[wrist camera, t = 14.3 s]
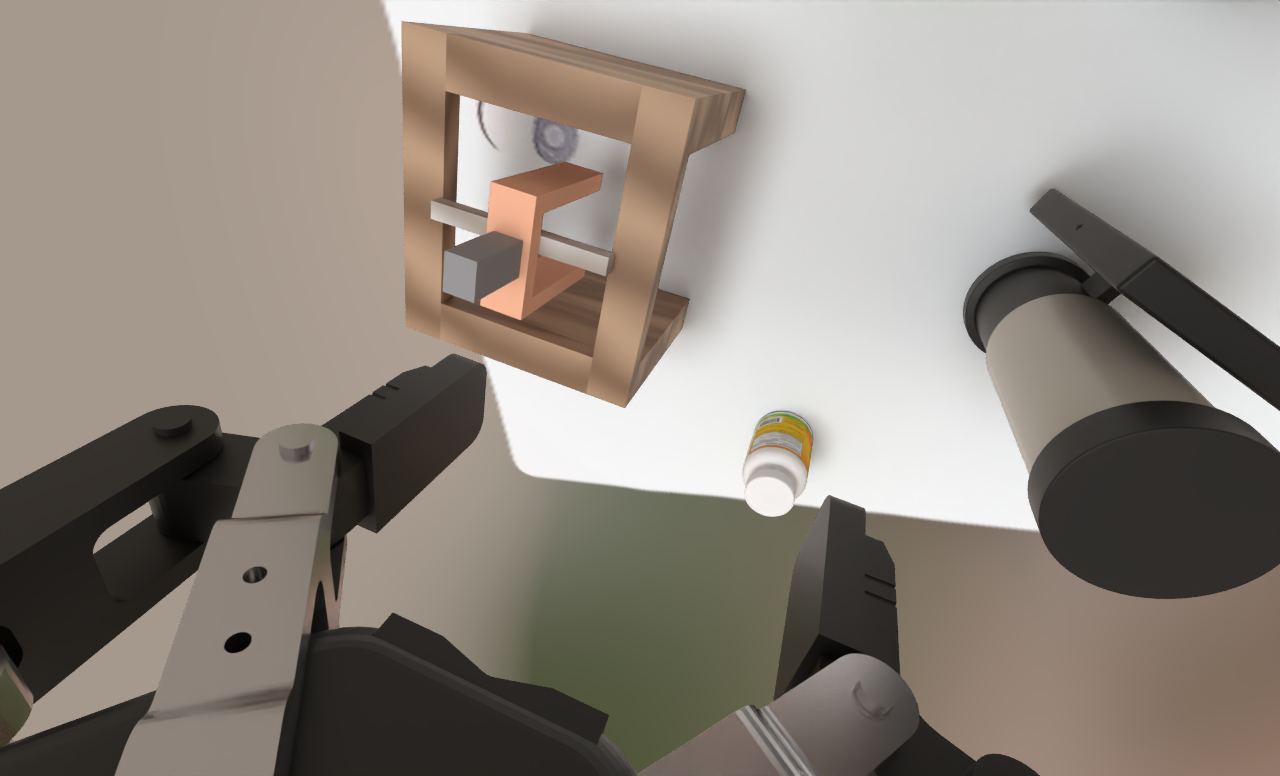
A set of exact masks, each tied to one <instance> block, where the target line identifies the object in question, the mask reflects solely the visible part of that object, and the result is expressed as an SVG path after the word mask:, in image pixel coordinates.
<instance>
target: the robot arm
mask: <svg viewBox="0 0 1280 776" xmlns="http://www.w3.org/2000/svg"><path fill="white" fill-rule="evenodd" d="M486 374H487V372H486V367H485V365H483V364H481V363H478V362H475V361H473V360H470V359H467V358H465V357H462V356H460V355H457V354H451V355H449V356H447V357H446V358H444V359H443V360H441V361H440V362H439V363H437V364H436V365H434V366H433V367H431V368H430V367H428V366H423V367H419V368H417V369H413V370H409V371H406V372H403V373H402V374H400V375H398V376H397V377H395V378H394V379H392V380H391V381H389V382H388V383H387V384H386V386H382V387H380V388H379V389H377V390H375V391H374V392H373V394H372V395H368V396H366V397H365V398H363V399H362V400H360V401H359V402H357V403H356V404H354V405H353V406H351V407H350V408H348V409H346V410H345V411H344V412H342V413H340V414H339V415H337V416H336V417H334V418H333V419H331V420H330V421H329V422H327V423H325V424H324V425H322V426H319V425H314V424H292V425H287V426H283V427H280V428H277V429H275V430H272V431H270V432H268V433H267V434H265V435H264V436H262V437H261V438H256V437H249V436H242V435H235V434H228V433H222V431H221V427H220V423H219V419H218V416H217V415H216V414H215V413H214V412H213V411H211V410H209V409H207V408H204V407H200V406H193V405H178V406H170V407H164V408H160V409H157V410H154V411H151V412H148V413H146V414H144V415H142V416H140V417H138V418H136V419H134V420H132V421H130V422H128V423H126V424H125V425H123V426H121V427H119V428H117V429H115V430H113V431H111V432H109V433H107V434H105V435H104V436H102V437H100V438H98V439H96V440H94V441H92V442H90V443H88V444H86V445H85V446H82V447H81V448H79V449H77V450H75V451H73V452H71V453H69V454H67V455H65V456H63V457H61V458H60V459H58V460H56V461H54V462H52V463H50V464H48V465H46V466H44V467H42V468H40V469H38V470H37V471H35V472H33V473H31V474H29V475H27V476H25V477H23V478H21V479H20V480H18V481H16V482H14V483H12V484H10V485H8V486H6V487H4V488H2V489H0V776H1040V775H1038V774H1037V773H1036V772H1035V771H1034V770H1032V769H1031V768H1029V767H1028V766H1027V765H1025V764H1023V763H1022V762H1020V761H1018V760H1016V759H1014V758H1011V757H1009V756H1005V755H1001V754H988V755H985V756H983V757H981V758H980V759H978V760H977V761H975V760H973V759H972V758H971V757H969V756H968V755H967V754H965V753H964V752H963V751H961V750H960V749H959V748H957V747H956V746H955V745H953V744H952V743H951V742H949V741H948V740H947V739H945V738H944V737H942V736H941V735H940V734H939V733H937V732H936V731H935V730H934V729H933V728H932V727H930V726H929V725H928V724H927V723H926V722H925V721H924V720H923V718H922V717H921V716H920V715H919V709H918V704H917V702H916V699H915V697H914V695H913V693H912V691H911V689H910V688H909V686H908V685H907V683H906V682H905V681H904V680H903V679H902V677H901V676H900V663H899V644H898V625H897V608H896V607H895V605H896V590H895V586H896V584H895V565H894V562H893V561H892V559H891V557H890V555H889V553H888V551H887V549H886V547H885V545H884V543H883V542H882V541H879V540H876V539H874V538H871V537H869V536H866V535H865V521H866V518H865V516H866V515H865V514H866V513H865V509H864V508H862V507H859V506H857V505H854V504H851V503H849V502H846V501H843V500H841V499H838V498H835V497H833V496H830V495H828V496H827V497H826V499H825V500H824V502H823V504H822V506H821V508H820V510H819V512H818V514H817V516H816V518H815V520H814V522H813V524H812V526H811V528H810V530H809V532H808V534H807V536H806V538H805V540H804V542H803V544H802V546H801V549H800V551H799V554H798V556H797V559H796V562H795V566H794V570H793V574H792V581H791V587H790V594H789V601H788V607H787V614H786V620H785V627H784V634H783V640H782V647H781V654H780V660H779V667H778V673H777V680H776V686H775V694H774V700H773V702H772V703H770V704H769V705H767V706H766V707H764V708H762V709H759V710H758V709H757V708H756V707H755V706H754V705H748V706H745V707H743V708H741V709H739V710H738V711H736V712H734V713H733V714H731V715H730V716H728V717H727V718H725V719H723V720H722V721H720V722H719V723H717V724H716V725H714V726H712V727H711V728H710V729H708V730H706V731H704V732H703V733H701V734H700V735H698V736H697V737H695V738H694V739H692V740H690V741H689V742H687V743H686V744H684V745H682V746H681V747H679V748H678V749H676V750H675V751H673V752H671V753H670V754H668V755H667V756H665V757H664V758H662V759H660V760H659V761H657V762H656V763H654V764H653V765H651V766H650V767H648V768H646V769H645V770H643V771H641V772H640V773H638V774H636V772H635V771H634V769H633V767H632V766H631V764H630V763H629V762H628V760H627V759H626V757H625V756H624V755H623V754H622V752H621V751H620V750H619V749H618V748H617V747H616V746H615V745H614V743H612V742H611V741H610V740H609V739H608V738H607V737H606V736H604V735H603V733H604V729H605V726H606V723H607V720H608V717H609V715H608V714H606V713H603V712H601V711H599V710H597V709H595V708H593V707H591V706H589V705H586V704H584V703H582V702H580V701H578V700H576V699H574V698H572V697H570V696H568V695H565V694H563V693H561V692H559V691H557V690H555V689H553V688H548V687H542V686H537V685H532V684H526V683H521V682H516V681H510V680H505V679H500V678H494V677H491V676H489V675H486V674H485V673H484V672H483V671H481V670H480V669H479V668H478V667H477V666H476V665H475V664H473V663H472V662H471V661H470V660H469V659H468V658H467V657H466V656H465V655H463V654H462V653H461V652H460V651H459V650H458V649H457V648H456V647H454V646H453V645H452V644H451V643H450V642H449V641H448V640H447V639H445V638H444V637H443V636H441V635H439V634H437V633H435V632H433V631H431V630H429V629H427V628H424V627H422V626H420V625H418V624H416V623H414V622H412V621H410V620H407V619H405V618H403V617H401V616H399V615H397V614H395V613H392V614H391V615H390V616H389V618H388V619H387V620H386V621H385V622H384V623H383V624H382V626H381V627H380V628H372V627H343V628H339V619H340V608H341V598H342V588H343V579H344V570H345V560H346V551H347V533H348V532H350V531H351V530H352V529H353V528H354V527H355V526H356V525H359V526H361V527H363V528H366V529H368V530H370V531H372V532H374V533H378V532H379V531H380V530H381V529H382V528H383V527H384V526H385V525H386V524H387V523H388V522H389V521H390V520H391V519H393V518H394V517H395V516H396V515H397V514H398V513H399V512H400V511H401V510H402V509H403V508H404V507H405V506H406V505H407V504H408V503H409V502H410V501H412V500H413V499H414V498H415V497H416V496H417V495H418V494H419V493H420V492H421V491H422V490H423V489H424V488H425V487H426V486H427V485H428V484H430V483H431V482H432V481H433V480H434V479H435V478H436V477H437V476H438V475H439V474H440V473H441V472H442V471H443V470H444V469H445V468H446V467H447V466H449V465H450V464H451V463H452V462H453V461H454V460H455V459H456V458H457V457H458V456H459V455H460V454H461V453H462V452H463V451H464V450H465V449H467V448H468V447H469V446H470V445H471V444H472V443H473V441H474V440H475V439H476V437H477V435H478V433H479V431H480V429H481V426H482V423H483V417H484V403H485V388H486ZM148 501H149V504H150V507H151V510H152V513H153V514H152V515H151V516H149V517H148V518H146V519H145V520H143V521H142V522H140V523H139V524H137V525H136V526H134V527H133V528H131V529H130V530H128V531H127V532H126V533H124V534H123V535H121V536H120V537H118V538H117V539H115V540H114V541H112V542H111V543H109V544H108V545H107V546H105V547H103V548H102V549H100V550H99V551H98V552H96V553H94V554H93V548H94V545H95V543H96V541H97V539H98V537H100V535H101V534H102V533H103V532H104V531H105V530H106V529H107V528H109V527H110V526H112V525H113V524H115V523H116V522H118V521H119V520H120V519H122V518H124V517H125V516H127V515H128V514H130V513H131V512H133V511H135V510H136V509H138V508H139V507H141V506H142V505H144V504H145V503H147V502H148ZM197 570H198V572H197V575H196V578H195V581H194V583H193V586H192V589H191V593H190V595H189V598H188V601H187V604H186V607H185V610H184V613H183V615H182V618H181V621H180V624H179V627H178V630H177V633H176V636H175V639H174V641H173V644H172V647H171V650H170V653H169V656H168V659H167V662H166V665H165V668H164V670H163V673H162V677H161V679H160V682H159V685H158V688H157V690H156V691H153V692H150V693H148V694H145V695H142V696H139V697H136V698H134V699H131V700H128V701H125V702H123V703H120V704H117V705H115V706H112V707H109V708H106V709H103V710H101V711H98V712H95V713H92V714H90V715H87V716H84V717H81V718H79V719H76V720H73V721H70V722H68V723H65V724H62V725H59V726H57V727H54V728H51V729H49V730H46V731H43V732H40V733H37V734H35V735H32V736H29V737H26V738H24V739H21V740H18V741H15V742H14V741H13V739H12V738H13V737H14V736H15V735H16V734H17V733H18V732H19V730H20V729H21V728H22V727H23V725H24V724H25V722H26V721H27V719H28V717H29V715H30V713H31V710H32V707H33V704H34V703H35V702H37V701H38V700H39V699H40V698H41V697H43V696H44V695H45V694H46V693H48V692H49V691H50V690H51V689H52V688H54V687H55V686H56V685H57V684H59V683H60V682H61V681H62V680H63V679H65V678H66V677H67V676H69V675H70V674H71V673H72V672H73V671H75V670H76V669H77V668H78V667H79V666H81V665H82V664H83V663H84V662H86V661H87V660H88V659H89V658H91V657H92V656H93V655H94V654H95V653H97V652H98V651H99V650H100V649H102V648H103V647H104V646H105V645H106V644H108V643H109V642H110V641H111V640H113V639H114V638H115V637H116V636H118V635H119V634H120V633H121V632H122V631H124V630H125V629H126V628H127V627H129V626H130V625H131V624H132V623H134V622H135V621H136V620H137V619H138V618H140V617H141V616H142V615H143V614H145V613H146V612H147V611H148V610H149V609H151V608H152V607H153V606H154V605H155V604H157V603H158V602H159V601H160V600H161V599H163V598H164V597H165V596H166V595H168V594H169V593H170V592H172V591H173V590H174V589H175V588H176V587H178V586H179V585H180V584H181V583H182V582H184V581H185V580H186V579H187V578H189V577H190V576H191V575H192V574H193V573H195V572H196V571H197Z"/></svg>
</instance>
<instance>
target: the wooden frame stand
mask: <svg viewBox="0 0 1280 776" xmlns="http://www.w3.org/2000/svg"><path fill="white" fill-rule="evenodd" d="M401 22H402V91H403V162H404V233H405V303H406V327H408V328H410V329H413V330H416V331H418V332H421V333H424V334H426V335H429V336H432V337H435V338H437V339H440V340H443V341H445V342H448V343H451V344H454V345H456V346H459V347H461V348H464V349H467V350H470V351H472V352H475V353H478V354H480V355H483V356H486V357H488V358H491V359H494V360H496V361H499V362H502V363H505V364H507V365H510V366H513V367H515V368H518V369H521V370H523V371H526V372H529V373H531V374H534V375H537V376H540V377H542V378H545V379H548V380H550V381H553V382H556V383H558V384H561V385H564V386H566V387H569V388H572V389H575V390H577V391H580V392H583V393H585V394H588V395H591V396H593V397H596V398H599V399H601V400H604V401H607V402H610V403H612V404H615V405H618V406H620V407H623V408H625V407H626V406H627V405H628V403H629V402H630V400H631V399H632V398H633V396H634V395H635V393H636V392H637V391H638V389H639V388H640V386H641V385H642V384H643V382H644V381H645V379H646V378H647V377H648V375H649V374H650V372H651V371H652V370H653V368H654V367H655V365H656V364H657V363H658V361H659V360H660V359H661V357H662V356H663V354H664V353H665V352H666V350H667V349H668V347H669V346H670V345H671V343H672V342H673V340H674V339H675V338H676V336H677V335H678V333H679V332H680V331H681V329H682V326H683V322H684V318H685V314H686V311H687V307H688V303H689V300H690V299H687V298H684V297H681V296H678V295H675V294H672V293H669V292H666V291H663V290H659V289H658V285H659V281H660V277H661V272H662V268H663V264H664V260H665V255H666V251H667V247H668V242H669V238H670V234H671V230H672V225H673V221H674V217H675V213H676V208H677V204H678V200H679V195H680V191H681V187H682V183H683V178H684V174H685V170H686V166H687V161H688V157H689V155H690V154H692V153H694V152H696V151H698V150H700V149H702V148H704V147H706V146H708V145H710V144H712V143H714V142H716V141H718V140H721V139H723V138H725V137H727V136H729V135H731V134H733V133H734V132H735V128H736V124H737V121H738V117H739V113H740V109H741V106H742V102H743V98H744V95H745V91H746V90H745V89H741V88H737V87H733V86H729V85H725V84H722V83H718V82H714V81H710V80H706V79H702V78H698V77H694V76H690V75H686V74H683V73H679V72H675V71H671V70H667V69H663V68H659V67H655V66H651V65H648V64H644V63H640V62H636V61H632V60H628V59H624V58H620V57H616V56H612V55H609V54H605V53H601V52H597V51H593V50H589V49H585V48H581V47H577V46H573V45H570V44H566V43H562V42H558V41H554V40H550V39H546V38H542V37H538V36H534V35H531V34H526V33H516V32H505V31H495V30H485V29H475V28H465V27H455V26H445V25H434V24H424V23H414V22H404V21H401ZM460 95H461V96H465V97H468V98H472V99H476V100H479V101H483V102H486V103H490V104H493V105H497V106H500V107H504V108H507V109H511V110H514V111H518V112H521V113H525V114H528V115H532V116H535V117H539V118H542V119H546V120H549V121H553V122H557V123H560V124H564V125H567V126H571V127H574V128H578V129H581V130H585V131H588V132H592V133H595V134H599V135H602V136H606V137H609V138H613V139H616V140H620V141H623V142H627V143H630V144H632V145H631V150H630V156H629V161H628V167H627V172H626V177H625V183H624V188H623V194H622V199H621V205H620V210H619V216H618V221H617V227H616V232H615V238H614V243H613V249H612V252H609V251H606V250H602V249H599V248H596V247H593V246H590V245H587V244H584V243H581V242H578V241H574V240H571V239H568V238H565V237H562V236H559V235H556V234H553V233H550V232H546V231H543V230H541V235H540V242H539V250H538V257H537V258H539V257H541V256H545V257H548V258H551V259H554V260H557V261H561V262H564V263H567V264H570V265H573V266H576V267H579V268H582V269H585V275H584V277H583V278H581V279H580V280H578V281H577V282H575V283H574V284H573V285H571V286H570V287H568V288H567V289H565V290H564V291H562V292H561V293H560V294H558V295H557V296H555V297H554V298H552V299H551V300H549V301H548V302H547V303H545V304H544V305H542V306H541V307H539V308H538V309H537V310H535V311H534V312H532V313H531V314H529V315H528V316H526V317H525V318H524V319H522V320H519V319H516V318H513V317H511V316H508V315H505V314H502V313H500V312H497V311H494V310H492V309H489V308H486V307H483V306H481V305H480V302H481V299H480V300H479V301H477V302H475V303H472V302H470V301H467V300H464V299H462V298H459V297H456V296H453V295H451V294H448V293H445V292H443V272H444V252H445V250H447V249H449V248H452V247H454V246H455V227H458V228H461V229H464V230H467V231H470V232H473V233H476V234H479V235H484V234H486V232H487V220H488V213H487V212H484V211H481V210H478V209H475V208H472V207H469V206H466V205H463V204H459V203H456V195H457V165H458V135H459V105H460Z"/></svg>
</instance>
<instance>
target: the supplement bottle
mask: <svg viewBox="0 0 1280 776" xmlns="http://www.w3.org/2000/svg"><path fill="white" fill-rule="evenodd" d="M812 444H813V435H812V431H811V429H810V427H809V425H808V424H807V423H806V422H805V421H804V420H803V419H802V418H800V417H799V416H797V415H795V414H792V413H789V412H774V413H770V414H768V415H766V416H764V417H763V418H762V419H761V420H760V421H759V422H758V424H757V425H756V428H755V430H754V433H753V437H752V440H751V443H750V446H749V450H748V453H747V456H746V459H745V462H744V466H743V472H742V475H743V480H744V483H745V485H746V487H745V499H746V501H747V503H748V505H749V506H750V507H751V508H752V509H753V510H755V511H756V512H758V513H759V514H762V515H765V516H772V517H774V516H780V515H783V514H785V513H787V512H788V511H789V510H790V509H791V508H792V506H793V504H794V501H795V499H796V498H797V497H798V496H799V495H800V494H801V493H802V492H803V491H804V489H805V486H806V483H807V477H808V471H809V465H810V458H811V451H812Z"/></svg>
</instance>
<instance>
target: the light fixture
mask: <svg viewBox="0 0 1280 776" xmlns="http://www.w3.org/2000/svg"><path fill="white" fill-rule="evenodd" d="M1030 212H1031V213H1032V214H1033V215H1034V216H1035V217H1036V218H1037V219H1038V220H1039V221H1040V222H1042V223H1043V224H1044V225H1045V226H1046V227H1047V228H1048V229H1049V230H1050V231H1052V232H1053V233H1054V234H1055V235H1056V236H1057V237H1058V238H1059V239H1060V240H1062V241H1063V242H1064V243H1065V244H1066V245H1067V246H1068V247H1069V248H1070V249H1072V250H1073V251H1074V252H1075V253H1076V254H1077V255H1078V256H1079V257H1080V258H1082V259H1083V260H1084V261H1085V262H1086V263H1087V264H1088V265H1089V266H1090V267H1092V268H1093V269H1094V270H1095V271H1096V273H1094V274H1093V275H1092V276H1091V277H1090V276H1089V275H1088V274H1087V273H1086V272H1085V271H1084V270H1083V269H1082V268H1081V267H1080V266H1078V265H1077V264H1076V263H1074V262H1073V261H1071V260H1069V259H1067V258H1065V257H1062V256H1060V255H1056V254H1051V253H1043V252H1032V253H1024V254H1019V255H1015V256H1012V257H1009V258H1006V259H1004V260H1002V261H1000V262H998V263H996V264H994V265H993V266H991V267H990V268H988V269H987V270H986V271H985V272H983V273H982V274H981V275H980V276H979V277H978V278H977V279H976V281H975V282H974V283H973V285H972V286H971V288H970V290H969V292H968V294H967V296H966V299H965V302H964V308H963V318H964V323H965V326H966V329H967V332H968V334H969V336H970V338H971V340H972V341H973V342H974V344H975V345H976V346H977V347H978V348H979V349H980V350H982V351H983V352H984V353H986V364H987V368H988V371H989V374H990V376H991V379H992V381H993V384H994V386H995V389H996V391H997V394H998V397H999V399H1000V402H1001V404H1002V407H1003V409H1004V412H1005V414H1006V417H1007V419H1008V422H1009V425H1010V427H1011V430H1012V432H1013V435H1014V437H1015V440H1016V442H1017V445H1018V447H1019V450H1020V452H1021V455H1022V458H1023V460H1024V463H1025V465H1026V468H1027V470H1028V473H1029V480H1028V499H1029V502H1030V506H1031V509H1032V512H1033V514H1034V517H1035V520H1036V523H1037V525H1038V528H1039V531H1040V533H1041V536H1042V538H1043V541H1044V543H1045V545H1046V547H1047V548H1048V550H1049V551H1050V553H1051V554H1052V555H1053V556H1054V558H1055V559H1056V560H1057V561H1058V562H1059V563H1060V564H1061V565H1062V566H1063V567H1065V568H1066V569H1067V570H1069V571H1070V572H1071V573H1073V574H1074V575H1076V576H1077V577H1079V578H1081V579H1083V580H1085V581H1086V582H1088V583H1091V584H1093V585H1095V586H1097V587H1100V588H1103V589H1106V590H1109V591H1113V592H1117V593H1120V594H1125V595H1129V596H1135V597H1143V598H1155V599H1176V598H1190V597H1198V596H1204V595H1209V594H1214V593H1218V592H1222V591H1226V590H1229V589H1232V588H1235V587H1238V586H1241V585H1243V584H1246V583H1248V582H1250V581H1252V580H1254V579H1256V578H1258V577H1260V576H1262V575H1264V574H1265V573H1267V572H1269V571H1270V570H1272V569H1273V568H1275V567H1276V566H1277V565H1279V564H1280V452H1279V451H1278V450H1277V449H1276V448H1275V447H1274V446H1273V445H1272V444H1271V443H1270V442H1268V441H1267V440H1266V439H1265V438H1264V437H1263V436H1262V435H1261V434H1260V433H1259V432H1258V431H1256V430H1255V429H1254V428H1253V427H1252V426H1250V425H1249V424H1247V423H1246V422H1244V421H1243V420H1241V419H1239V418H1237V417H1235V416H1233V415H1231V414H1229V413H1227V412H1224V411H1222V410H1219V409H1216V408H1215V407H1214V406H1213V405H1212V404H1211V403H1210V402H1209V401H1208V400H1207V399H1206V398H1205V397H1204V396H1203V395H1202V394H1201V393H1200V392H1199V391H1198V390H1197V389H1196V388H1195V387H1194V386H1193V385H1192V384H1191V383H1190V382H1189V381H1188V380H1187V379H1186V378H1184V377H1183V376H1182V375H1181V374H1180V373H1179V372H1178V371H1177V370H1176V369H1175V368H1174V367H1173V366H1172V365H1171V364H1170V363H1169V362H1168V361H1167V360H1166V359H1165V358H1164V357H1163V356H1162V355H1161V354H1160V353H1159V352H1158V351H1157V350H1156V349H1155V348H1154V347H1153V346H1152V345H1151V344H1150V343H1149V342H1148V341H1147V340H1146V339H1145V338H1144V337H1143V336H1142V335H1141V334H1140V333H1139V332H1138V331H1137V330H1136V329H1135V328H1134V327H1133V326H1132V325H1131V324H1130V323H1129V322H1128V321H1127V320H1126V319H1124V318H1123V317H1122V316H1121V315H1120V314H1119V313H1118V312H1117V311H1116V310H1115V309H1114V308H1113V307H1111V306H1110V305H1108V304H1109V303H1110V302H1111V301H1112V300H1114V299H1115V298H1116V297H1117V296H1119V295H1120V294H1122V295H1124V296H1125V297H1127V298H1128V299H1129V300H1131V301H1132V302H1133V303H1135V304H1136V305H1137V306H1139V307H1140V308H1141V309H1143V310H1144V311H1145V312H1147V313H1148V314H1149V315H1151V316H1152V317H1154V318H1155V319H1156V320H1158V321H1159V322H1160V323H1162V324H1163V325H1164V326H1166V327H1167V328H1168V329H1170V330H1171V331H1172V332H1174V333H1175V334H1176V335H1178V336H1179V337H1181V338H1182V339H1183V340H1185V341H1186V342H1187V343H1189V344H1190V345H1191V346H1193V347H1194V348H1195V349H1197V350H1198V351H1199V352H1201V353H1202V354H1204V355H1205V356H1206V357H1208V358H1209V359H1210V360H1212V361H1213V362H1214V363H1216V364H1217V365H1218V366H1220V367H1221V368H1222V369H1224V370H1225V371H1226V372H1228V373H1229V374H1231V375H1232V376H1233V377H1235V378H1236V379H1237V380H1239V381H1240V382H1241V383H1243V384H1244V385H1245V386H1247V387H1248V388H1249V389H1251V390H1252V391H1253V392H1255V393H1256V394H1258V395H1259V396H1260V397H1262V398H1263V399H1264V400H1266V401H1267V402H1268V403H1270V404H1271V405H1272V406H1274V407H1275V408H1276V409H1278V410H1279V411H1280V347H1279V346H1278V345H1277V344H1275V343H1274V342H1273V341H1271V340H1270V339H1268V338H1267V337H1266V336H1264V335H1263V334H1262V333H1260V332H1259V331H1258V330H1256V329H1255V328H1254V327H1252V326H1251V325H1250V324H1248V323H1247V322H1246V321H1244V320H1243V319H1241V318H1240V317H1239V316H1237V315H1236V314H1235V313H1233V312H1232V311H1231V310H1229V309H1228V308H1227V307H1225V306H1224V305H1223V304H1221V303H1220V302H1219V301H1217V300H1216V299H1215V298H1213V297H1212V296H1210V295H1209V294H1208V293H1206V292H1205V291H1204V290H1202V289H1201V288H1200V287H1198V286H1197V285H1196V284H1194V283H1193V282H1192V281H1190V280H1189V279H1188V278H1186V277H1185V276H1184V275H1182V274H1181V273H1179V272H1178V271H1177V270H1175V269H1174V268H1173V267H1171V266H1170V265H1169V264H1167V263H1166V262H1165V261H1163V260H1162V259H1161V258H1159V257H1158V256H1156V255H1155V254H1153V253H1152V252H1150V251H1149V250H1147V249H1146V248H1144V247H1143V246H1141V245H1139V244H1138V243H1136V242H1135V241H1133V240H1132V239H1130V238H1129V237H1127V236H1126V235H1124V234H1123V233H1121V232H1120V231H1118V230H1117V229H1115V228H1114V227H1112V226H1110V225H1109V224H1107V223H1106V222H1104V221H1103V220H1101V219H1100V218H1098V217H1097V216H1095V215H1094V214H1092V213H1091V212H1089V211H1088V210H1086V209H1085V208H1083V207H1081V206H1080V205H1078V204H1077V203H1075V202H1074V201H1072V200H1071V199H1069V198H1068V197H1066V196H1065V195H1063V194H1062V193H1060V192H1059V191H1057V190H1056V189H1051V190H1049V191H1048V192H1047V193H1046V194H1045V195H1044V196H1043V197H1042V198H1041V199H1040V200H1039V201H1038V202H1037V203H1036V204H1035V205H1034V206H1033V207H1032V208H1031V209H1030Z"/></svg>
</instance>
